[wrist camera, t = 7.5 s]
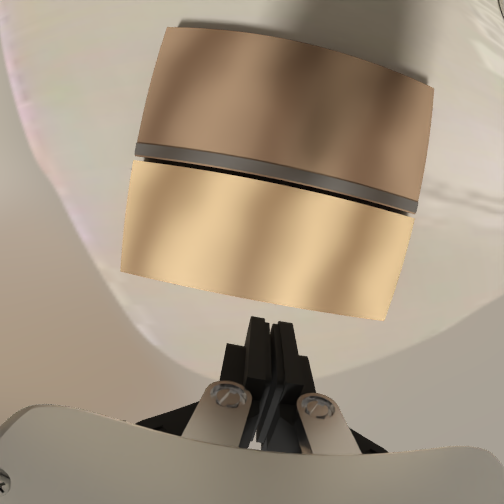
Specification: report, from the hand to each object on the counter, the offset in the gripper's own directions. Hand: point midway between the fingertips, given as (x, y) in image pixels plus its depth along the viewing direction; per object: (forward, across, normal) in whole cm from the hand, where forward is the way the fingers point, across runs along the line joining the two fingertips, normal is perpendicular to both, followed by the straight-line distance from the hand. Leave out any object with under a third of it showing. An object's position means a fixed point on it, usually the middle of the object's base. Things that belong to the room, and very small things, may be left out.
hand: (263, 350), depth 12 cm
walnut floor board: (+11, 0, -12) cm, 16 cm away
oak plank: (+11, 0, -2) cm, 11 cm away
